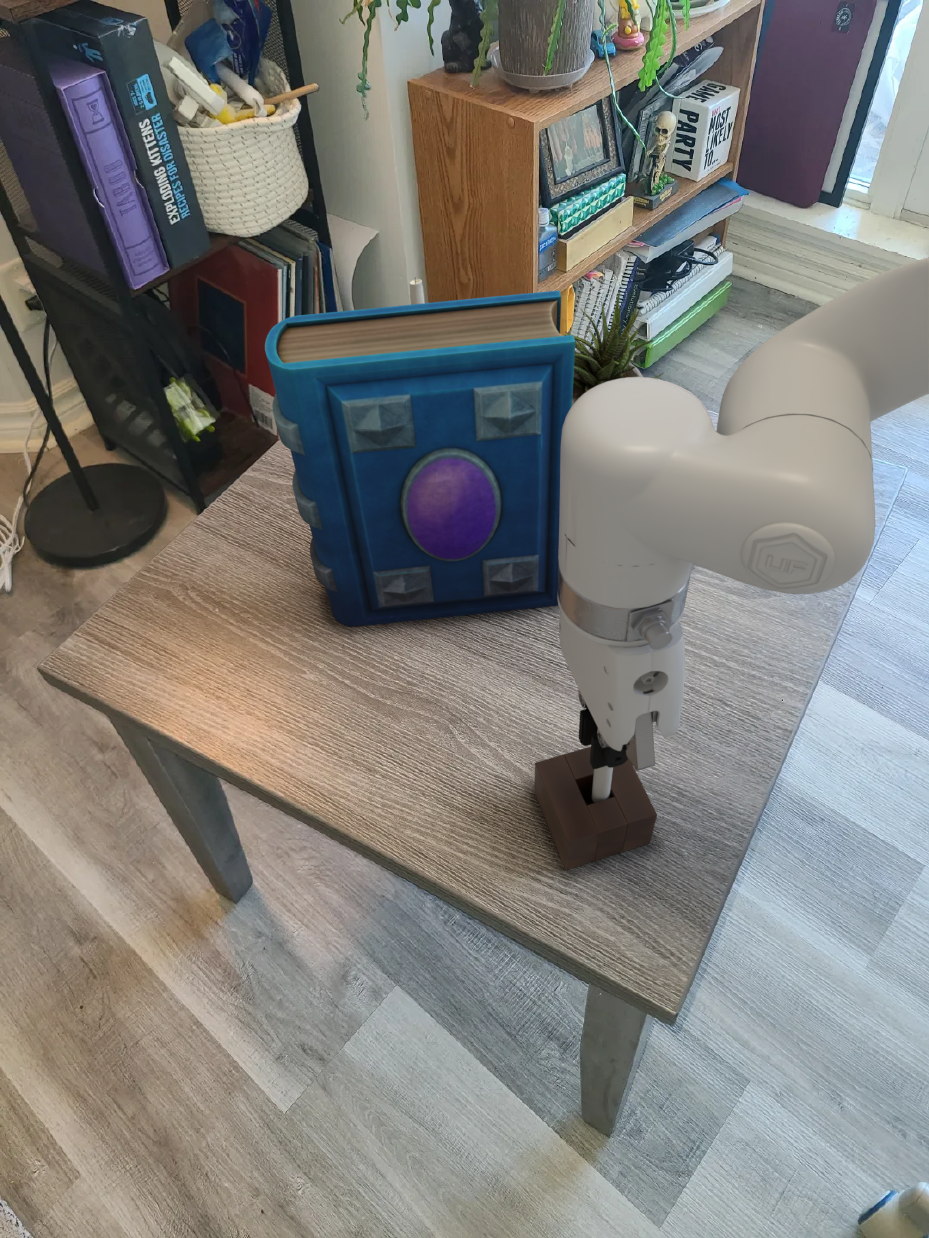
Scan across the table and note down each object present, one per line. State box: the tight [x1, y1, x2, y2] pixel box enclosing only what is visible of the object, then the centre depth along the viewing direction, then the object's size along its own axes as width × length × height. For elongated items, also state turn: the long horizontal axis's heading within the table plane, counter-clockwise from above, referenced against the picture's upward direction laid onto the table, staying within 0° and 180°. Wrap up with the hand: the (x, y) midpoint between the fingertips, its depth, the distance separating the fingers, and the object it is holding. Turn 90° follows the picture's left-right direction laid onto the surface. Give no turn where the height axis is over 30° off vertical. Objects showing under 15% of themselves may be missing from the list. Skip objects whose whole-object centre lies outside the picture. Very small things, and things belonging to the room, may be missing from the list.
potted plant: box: [563, 291, 664, 405], centre depth 95 cm, size 13×14×20 cm
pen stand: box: [533, 746, 658, 871], centre depth 73 cm, size 7×7×5 cm
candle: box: [409, 276, 426, 305], centre depth 108 cm, size 5×5×16 cm
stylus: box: [592, 766, 613, 803], centre depth 67 cm, size 1×1×13 cm
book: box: [264, 289, 576, 628], centre depth 80 cm, size 24×9×30 cm, turn 95°
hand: (605, 748), depth 66 cm, fingers closed on stylus, 1 cm apart
